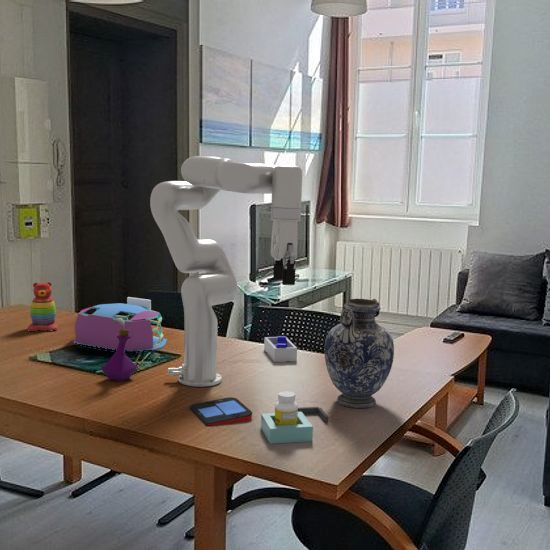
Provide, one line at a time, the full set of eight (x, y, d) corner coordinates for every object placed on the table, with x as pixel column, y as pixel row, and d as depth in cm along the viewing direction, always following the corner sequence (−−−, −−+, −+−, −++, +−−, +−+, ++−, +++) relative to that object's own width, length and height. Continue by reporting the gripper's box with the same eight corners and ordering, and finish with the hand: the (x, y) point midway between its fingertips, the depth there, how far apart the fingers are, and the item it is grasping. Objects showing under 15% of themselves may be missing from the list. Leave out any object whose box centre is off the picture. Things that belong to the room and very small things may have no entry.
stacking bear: (26, 332, 251) (25, 284, 248) (30, 326, 261) (29, 280, 258) (56, 331, 253) (55, 284, 251) (59, 325, 263) (58, 280, 260)
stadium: (59, 342, 238) (58, 302, 236) (105, 329, 259) (104, 293, 257) (139, 357, 223) (139, 314, 220) (180, 342, 244) (181, 303, 242)
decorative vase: (341, 385, 198) (347, 291, 193) (402, 398, 188) (409, 299, 184) (307, 405, 179) (312, 302, 175) (372, 421, 170) (379, 312, 166)
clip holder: (274, 362, 221) (274, 348, 220) (264, 349, 236) (264, 337, 235) (296, 361, 222) (297, 347, 222) (285, 349, 237) (285, 336, 237)
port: (269, 443, 153) (270, 428, 153) (260, 427, 163) (261, 413, 162) (312, 441, 155) (312, 426, 155) (300, 425, 165) (301, 411, 165)
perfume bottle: (137, 377, 200) (137, 317, 197) (122, 384, 193) (121, 322, 190) (117, 373, 203) (117, 314, 200) (101, 380, 196) (100, 319, 193)
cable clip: (272, 352, 234) (273, 335, 233) (285, 353, 234) (286, 336, 233) (271, 362, 222) (272, 344, 221) (285, 362, 222) (285, 344, 221)
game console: (188, 409, 176) (188, 401, 175) (234, 403, 181) (234, 395, 181) (206, 428, 163) (206, 419, 162) (255, 422, 168) (255, 413, 168)
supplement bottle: (273, 429, 162) (274, 390, 160) (295, 429, 162) (297, 390, 161) (275, 438, 157) (276, 397, 155) (298, 438, 157) (299, 397, 156)
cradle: (294, 424, 166) (295, 418, 166) (287, 413, 173) (287, 408, 173) (328, 422, 168) (328, 416, 168) (319, 412, 175) (320, 406, 175)
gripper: (264, 212, 178) (262, 276, 181) (279, 216, 162) (277, 287, 164) (291, 213, 180) (289, 276, 183) (309, 217, 163) (307, 287, 166)
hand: (283, 281), depth 173 cm, fingers open, 9 cm apart
